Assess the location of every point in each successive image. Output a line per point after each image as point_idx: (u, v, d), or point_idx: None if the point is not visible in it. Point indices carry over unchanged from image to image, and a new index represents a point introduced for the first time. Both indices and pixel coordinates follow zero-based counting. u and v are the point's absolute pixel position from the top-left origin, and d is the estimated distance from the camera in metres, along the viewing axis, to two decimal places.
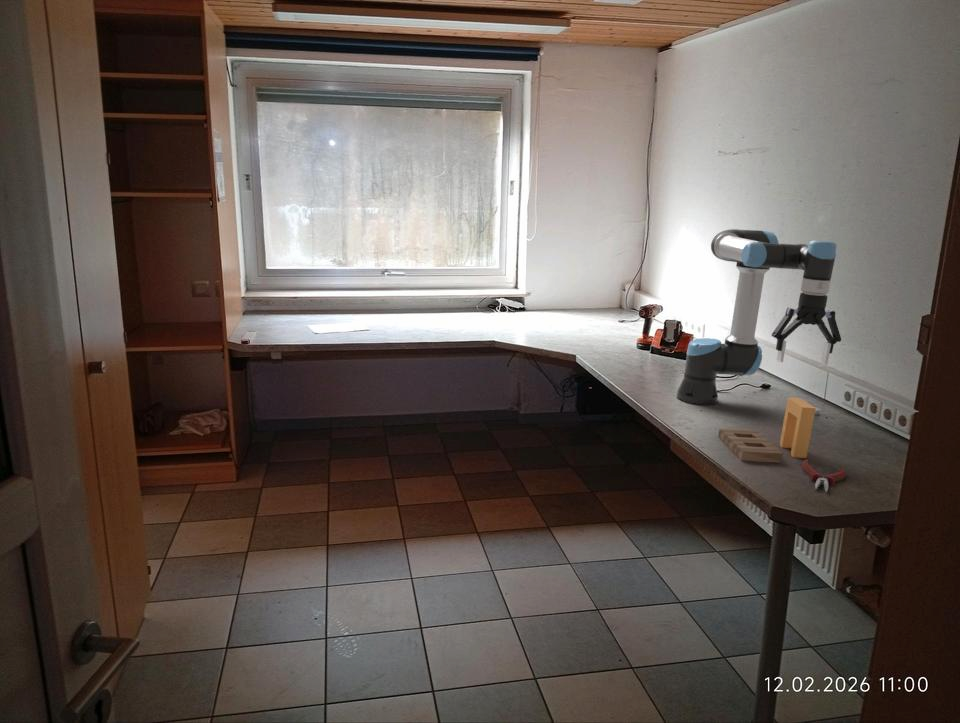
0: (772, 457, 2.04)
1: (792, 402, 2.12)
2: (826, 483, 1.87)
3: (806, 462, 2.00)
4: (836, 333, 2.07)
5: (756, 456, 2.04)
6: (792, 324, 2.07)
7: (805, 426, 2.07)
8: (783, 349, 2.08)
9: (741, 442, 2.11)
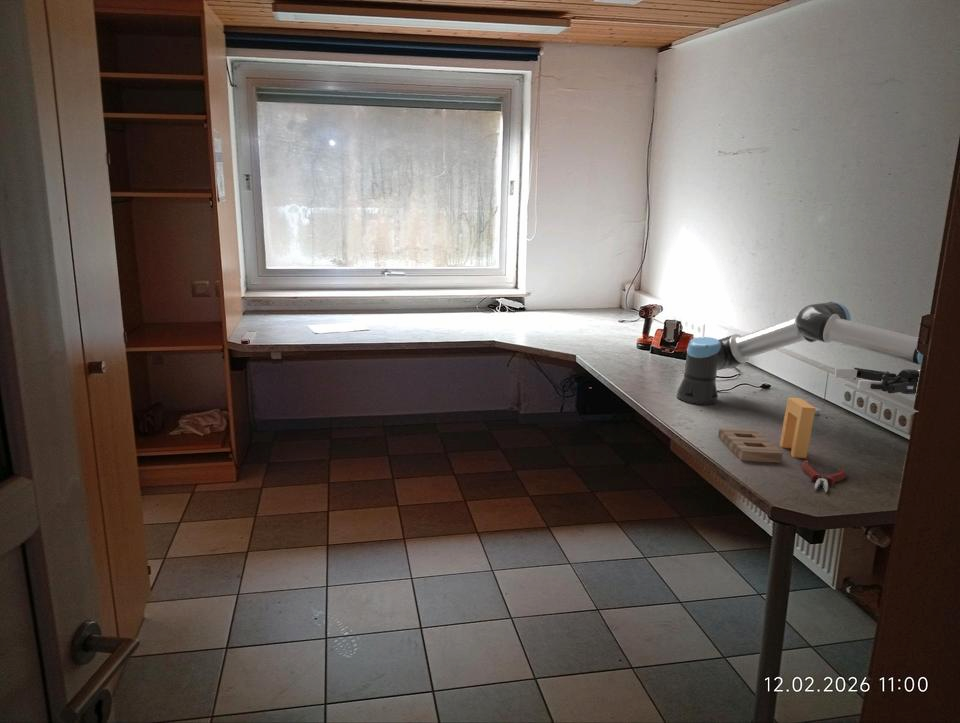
0: (772, 457, 2.04)
1: (792, 402, 2.12)
2: (826, 484, 1.87)
3: (806, 462, 2.00)
4: None
5: (756, 456, 2.04)
6: None
7: (805, 426, 2.07)
8: (871, 389, 2.02)
9: (741, 442, 2.11)
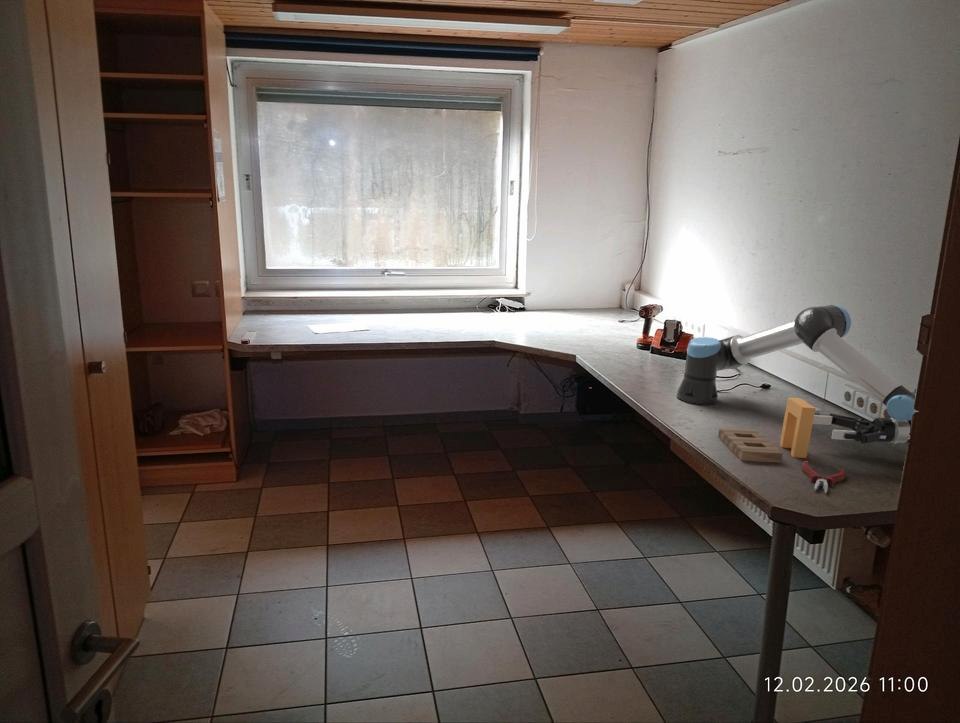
0: (772, 457, 2.04)
1: (792, 402, 2.12)
2: (825, 484, 1.86)
3: (806, 463, 2.00)
4: None
5: (756, 456, 2.04)
6: (866, 434, 2.07)
7: (805, 426, 2.07)
8: (844, 439, 2.05)
9: (741, 442, 2.11)
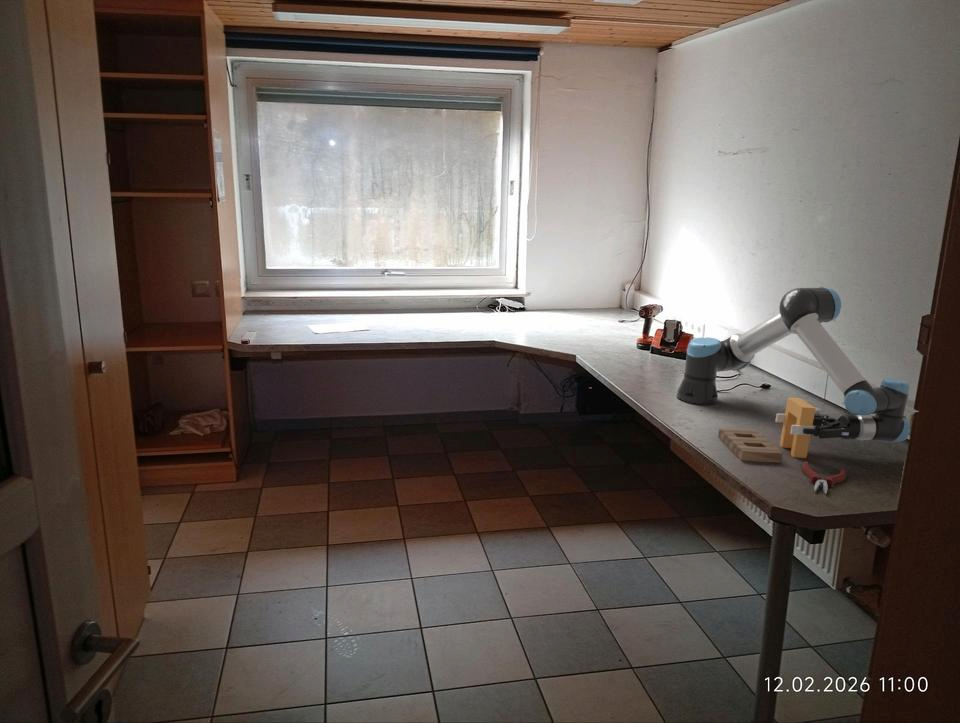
0: (772, 457, 2.04)
1: (792, 402, 2.12)
2: (825, 485, 1.86)
3: (805, 464, 1.99)
4: None
5: (756, 456, 2.04)
6: None
7: None
8: (803, 434, 2.07)
9: (741, 442, 2.11)
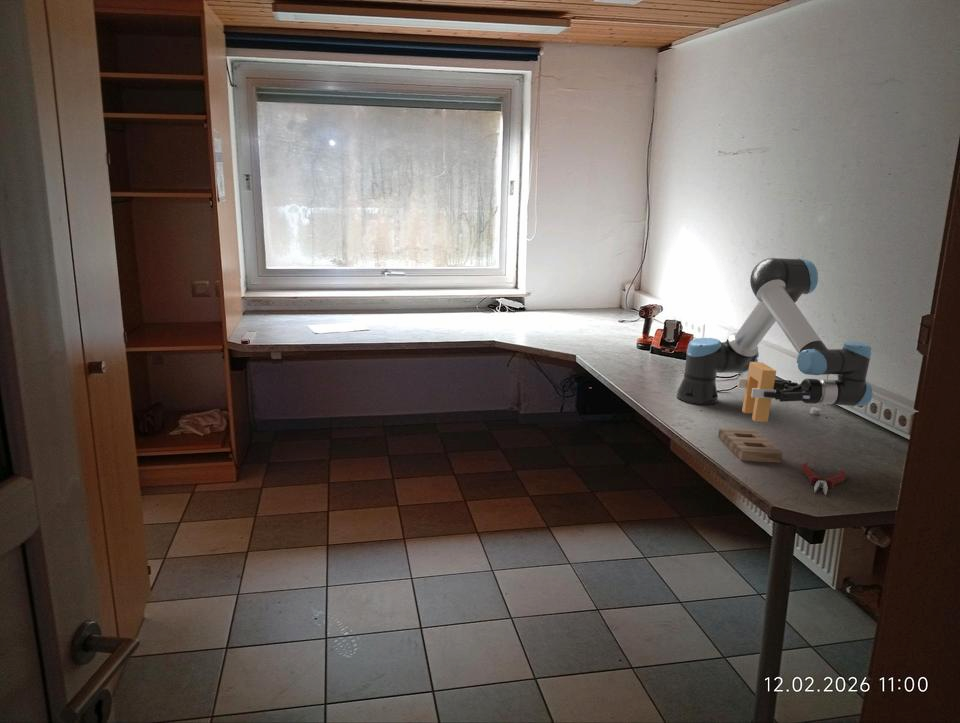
0: (772, 457, 2.04)
1: (753, 366, 2.09)
2: (825, 486, 1.85)
3: (805, 464, 1.99)
4: None
5: (756, 456, 2.04)
6: None
7: None
8: (764, 397, 2.04)
9: (741, 442, 2.11)
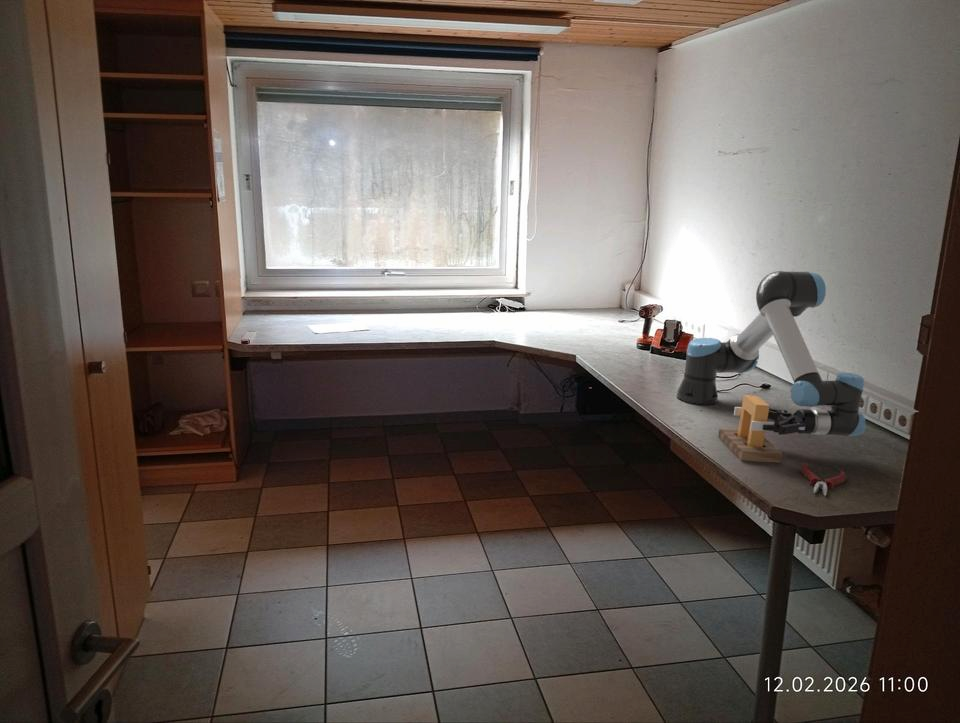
0: (772, 457, 2.04)
1: (747, 400, 2.12)
2: (825, 487, 1.84)
3: (805, 466, 1.98)
4: None
5: (756, 456, 2.04)
6: (786, 425, 2.07)
7: None
8: (763, 430, 2.05)
9: (741, 442, 2.11)
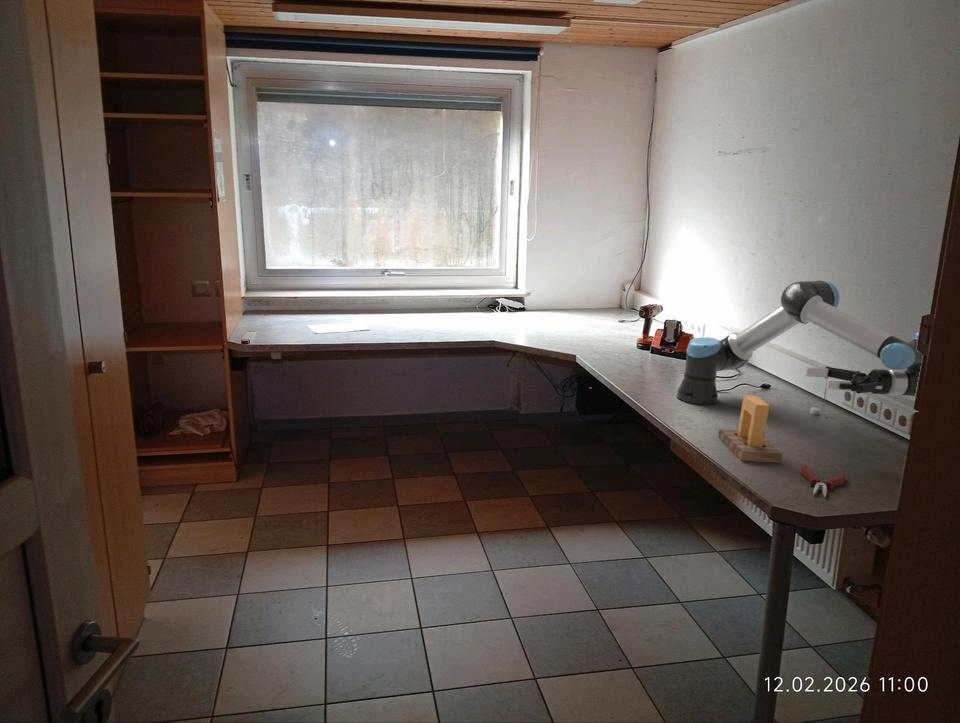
0: (772, 457, 2.04)
1: (747, 400, 2.12)
2: (825, 488, 1.84)
3: (805, 466, 1.97)
4: None
5: (756, 456, 2.04)
6: None
7: (759, 424, 2.07)
8: (840, 389, 2.01)
9: (741, 442, 2.11)
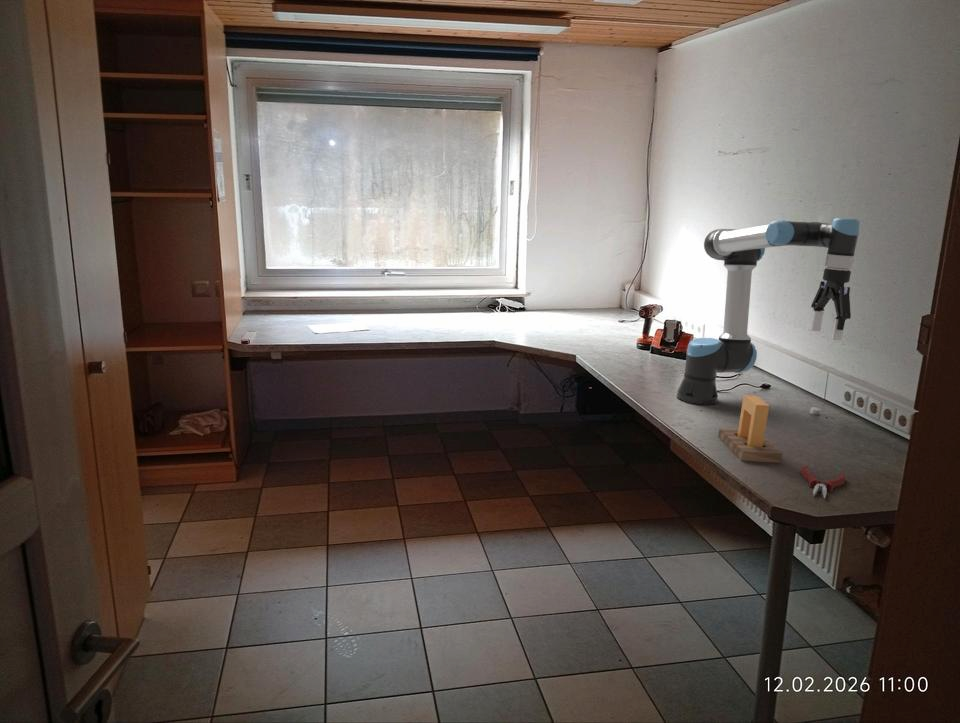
0: (772, 457, 2.04)
1: (747, 400, 2.12)
2: (824, 489, 1.83)
3: (804, 467, 1.96)
4: None
5: (756, 456, 2.04)
6: (840, 302, 2.12)
7: (759, 424, 2.07)
8: None
9: (741, 442, 2.11)
